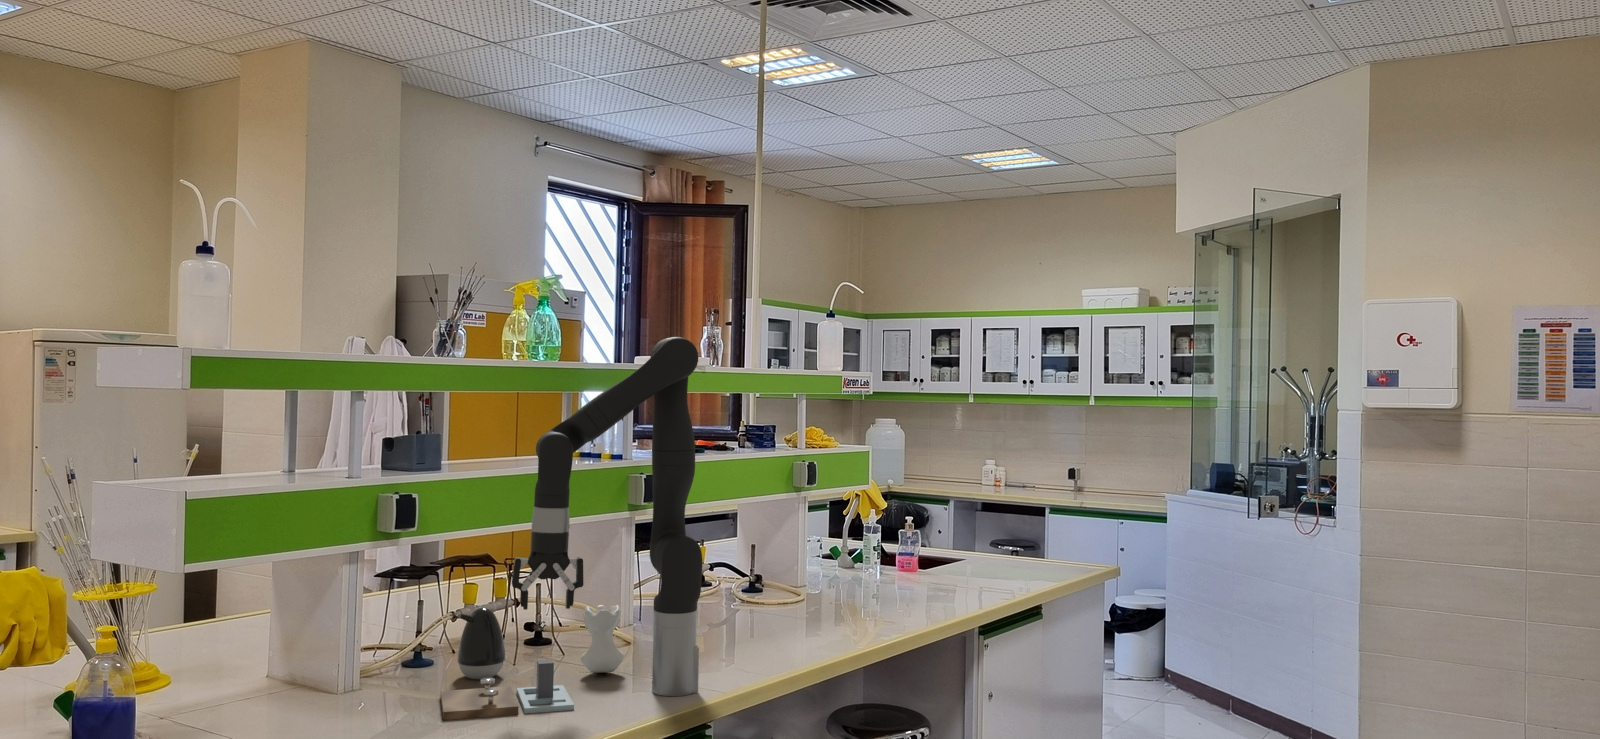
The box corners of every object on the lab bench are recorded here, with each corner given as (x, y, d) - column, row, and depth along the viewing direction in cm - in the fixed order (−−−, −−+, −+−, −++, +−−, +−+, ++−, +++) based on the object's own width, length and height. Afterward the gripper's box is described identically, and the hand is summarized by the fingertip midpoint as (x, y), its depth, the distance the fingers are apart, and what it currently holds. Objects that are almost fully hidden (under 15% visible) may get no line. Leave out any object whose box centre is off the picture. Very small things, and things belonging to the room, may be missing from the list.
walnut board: (510, 693, 233) (511, 673, 233) (518, 714, 218) (518, 692, 218) (440, 698, 228) (440, 678, 228) (443, 720, 213) (443, 698, 213)
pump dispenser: (447, 676, 246) (449, 607, 246) (490, 668, 253) (491, 601, 254) (470, 685, 239) (472, 614, 239) (513, 677, 246) (515, 608, 246)
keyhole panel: (562, 689, 236) (563, 651, 237) (574, 709, 221) (574, 669, 222) (516, 692, 233) (517, 654, 233) (524, 713, 218) (525, 672, 218)
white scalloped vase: (581, 680, 244) (582, 611, 245) (577, 668, 255) (579, 602, 256) (625, 677, 247) (626, 610, 247) (620, 666, 258) (621, 601, 258)
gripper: (583, 527, 234) (579, 605, 234) (513, 527, 230) (509, 606, 229) (587, 531, 227) (583, 611, 226) (516, 531, 223) (511, 612, 222)
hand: (546, 608), depth 228 cm, fingers open, 8 cm apart
